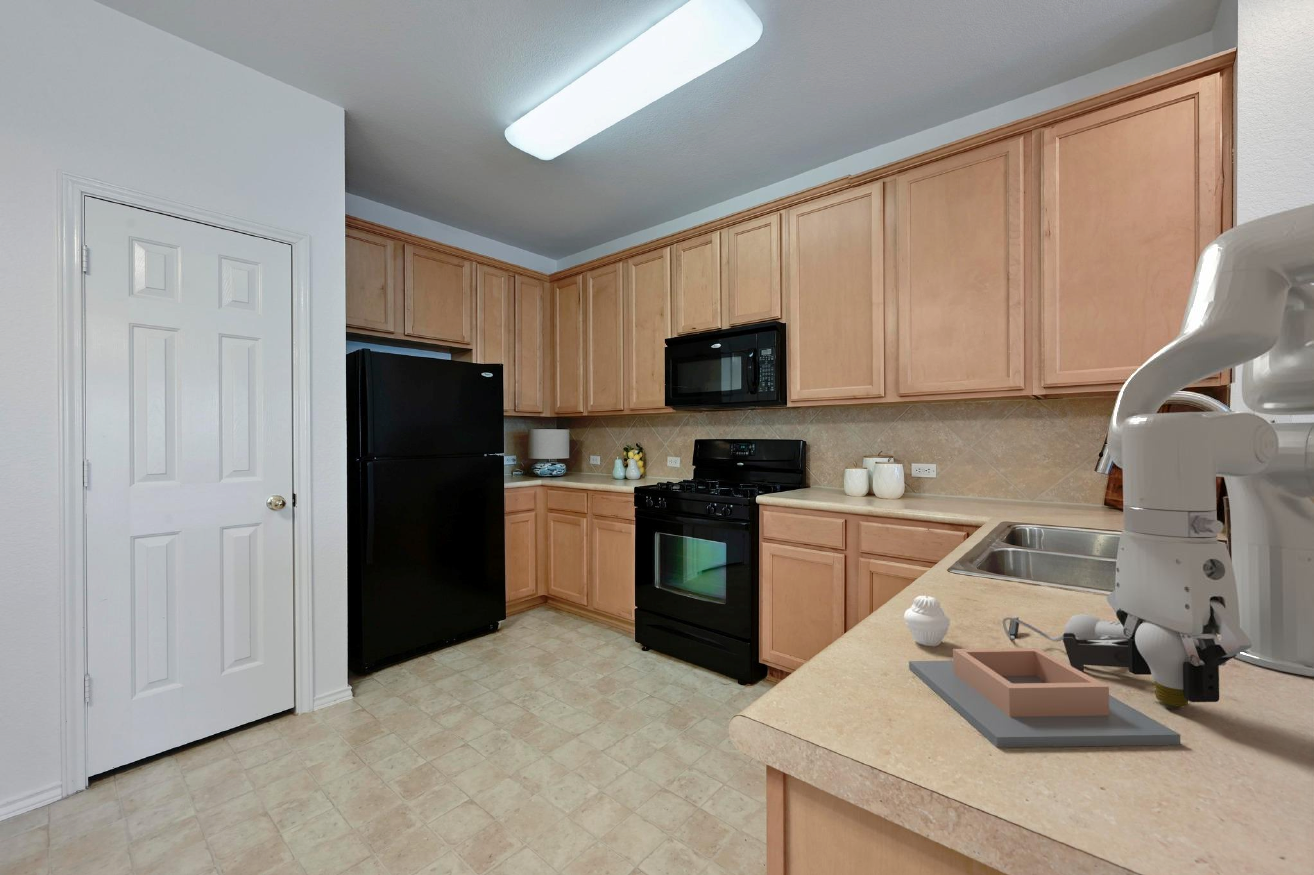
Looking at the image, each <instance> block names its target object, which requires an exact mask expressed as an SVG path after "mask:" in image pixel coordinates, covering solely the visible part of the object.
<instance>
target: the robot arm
mask: <svg viewBox="0 0 1314 875" xmlns="http://www.w3.org/2000/svg"><path fill="white" fill-rule="evenodd" d="M1195 268H1196V269H1195V272H1194V276H1193V279H1192V283H1191V287H1190V291H1189V295H1188V299H1187V303H1186V306H1185V311H1184V315H1183V318H1182V323H1181V326H1180V331H1179V334H1178V335H1177V336H1176V338H1174V339H1173V340H1172V341H1170V342H1169V343H1167V344H1166V345H1164V346H1163V347H1161V349H1159V350H1158V351H1157V352H1156V353H1154V354H1153V355H1152V356H1150V357H1149V358H1148V359H1147V360H1145V362H1144V363H1143V364H1141V365H1140V367H1138V368H1137V369H1136V370H1135V371H1134V372H1133V373H1132V374H1131V375H1130V376H1129V378H1127V380H1126V381H1125V382H1124V384H1123V385H1122V386H1121V388H1120V390H1119V392H1118V393H1117V394H1118V395H1117V397H1116V400H1115V404H1114V408H1113V411H1112V415H1111V418H1110V422H1109V427H1108V432H1107V438H1106V439H1107V440H1106V444H1107V445H1106V446H1107V451H1108V454H1109V457H1110V460H1111V461H1112V462H1113V463H1114V464H1115V465H1116V466H1117V467H1118V468H1120V469H1122V498H1123V499H1122V500H1123V502H1122V503H1123V505H1122V507H1123V508H1122V509H1123V510H1122V512H1123V530H1122V531H1121V533H1120V536H1119V541H1118V542H1119V543H1118V547H1117V555H1116V562H1115V563H1116V565H1115V589H1113V590H1112V592H1110V593H1109V594H1108V595H1107V596H1106V601H1107V602H1108V604H1109V606H1110V608H1111V609H1112V610H1113V612H1114V613H1115V614H1116V618H1117V620H1118V622H1121V624H1122V625H1123V627H1124V628H1123V634H1124V635H1125V636H1126V637H1127V638H1130V639H1128V657H1129V668H1128V671H1129V673H1131V674H1133V675H1136V676H1139V675H1140V676H1142V675H1143V676H1144V675H1149V676H1152V674H1151V671H1150V668H1149V666H1148V664H1147V662H1146V661H1145V659H1144V658H1143V657H1142V655H1141V654H1140V652H1139V651H1138V648H1137V646H1136V643H1135V634H1136V631H1137V629H1138V627H1139V626H1140V625H1141V624H1142V623H1143V622H1144V621H1148V622H1151V623H1154V624H1157V625H1159V626H1162V627H1164V628H1166V629H1169V630H1172V631H1174V632H1177V633H1180V635H1181V638H1182V641H1183V644H1184V647H1185V650H1186V653H1187V655H1188V658H1189V661H1190V662H1183V695H1184V698H1185V699H1186V700H1188V702H1190V703H1217V702H1219V701H1220V667H1221V666H1226V664H1227V661H1230V660H1231V659H1233V658H1236V659H1238V660H1241V661H1243V662H1245V663H1246V662H1247V663H1250V664H1253V665H1257V666H1261V667H1263V668H1268V669H1271V670H1276V671H1279V672H1284V673H1290V674H1294V675H1301V676H1307V677H1312V678H1313V677H1314V502H1313V501H1312V500H1311V499H1310V498H1314V422H1279V423H1270V422H1268V420H1266V419H1264V418H1263V417H1261V416H1259V415H1257V414H1255V412H1256V413H1258V414H1262V415H1263V414H1264V415H1269V416H1270V415H1271V416H1296V415H1297V416H1301V415H1302V416H1303V415H1304V416H1305V415H1306V416H1308V415H1314V203H1311V204H1307V205H1304V206H1303V205H1302V206H1300V207H1296V208H1292V209H1288V210H1285V211H1284V210H1283V211H1281V212H1277V213H1273V214H1269V215H1265V216H1263V217H1257V219H1253V220H1250V221H1247V222H1244V223H1242V224H1238V225H1236V226H1234V227H1232V228H1230V229H1228V230H1226V231H1224V232H1223V233H1221V234H1220V235H1219V236H1218V237H1217V238H1215V239H1214V240H1212V241H1211V242H1210V243H1209V244H1208V245H1207V246H1205V248H1204V249H1203V251H1202V252H1201V254H1200V256H1199V258H1198V261H1197V265H1196V267H1195ZM1240 365H1242V373H1241V397H1242V400H1243V403H1244V404H1245V406H1246V407H1247V408H1248V409H1250V410H1251V411H1252V412H1254V413H1251V412H1246V411H1240V410H1239V411H1237V410H1219V411H1218V410H1216V411H1214V410H1213V411H1185V412H1184V411H1183V412H1181V411H1180V412H1163V413H1162V412H1160V413H1159V412H1158V411H1159V410H1160V409H1161V406H1163V404H1165V402H1166V401H1167V400H1168V399H1170V398H1171V397H1172V396H1174V395H1175V394H1177V393H1178V392H1179V391H1181V390H1183V389H1185V388H1187V387H1189V386H1191V385H1193V384H1195V383H1197V382H1200V381H1204V380H1205V379H1208V378H1210V377H1212V376H1215V375H1217V374H1220V373H1223V372H1225V371H1229V370H1230V369H1233V368H1235V367H1237V366H1240ZM1217 478H1223V479H1224V483H1225V486H1226V491H1227V497H1228V504H1229V511H1230V512H1229V513H1230V534H1231V535H1230V538H1231V539H1230V540H1231V542H1230V543H1231V544H1230V545H1231V547H1230V548H1231V556H1230V552H1229V550H1228V548H1227V545H1226V543H1225V542H1223V541H1219V540H1218V534H1220V533H1222V532H1223V530H1224V524H1223V522H1222V521H1220V520H1218V517H1217V513H1218V511H1217ZM1218 635H1219V637H1218ZM1197 639H1203V641H1204V644H1205V647H1206V648H1204V649H1203V650H1201V648H1200V645H1199V642H1198V640H1197Z"/></svg>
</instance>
